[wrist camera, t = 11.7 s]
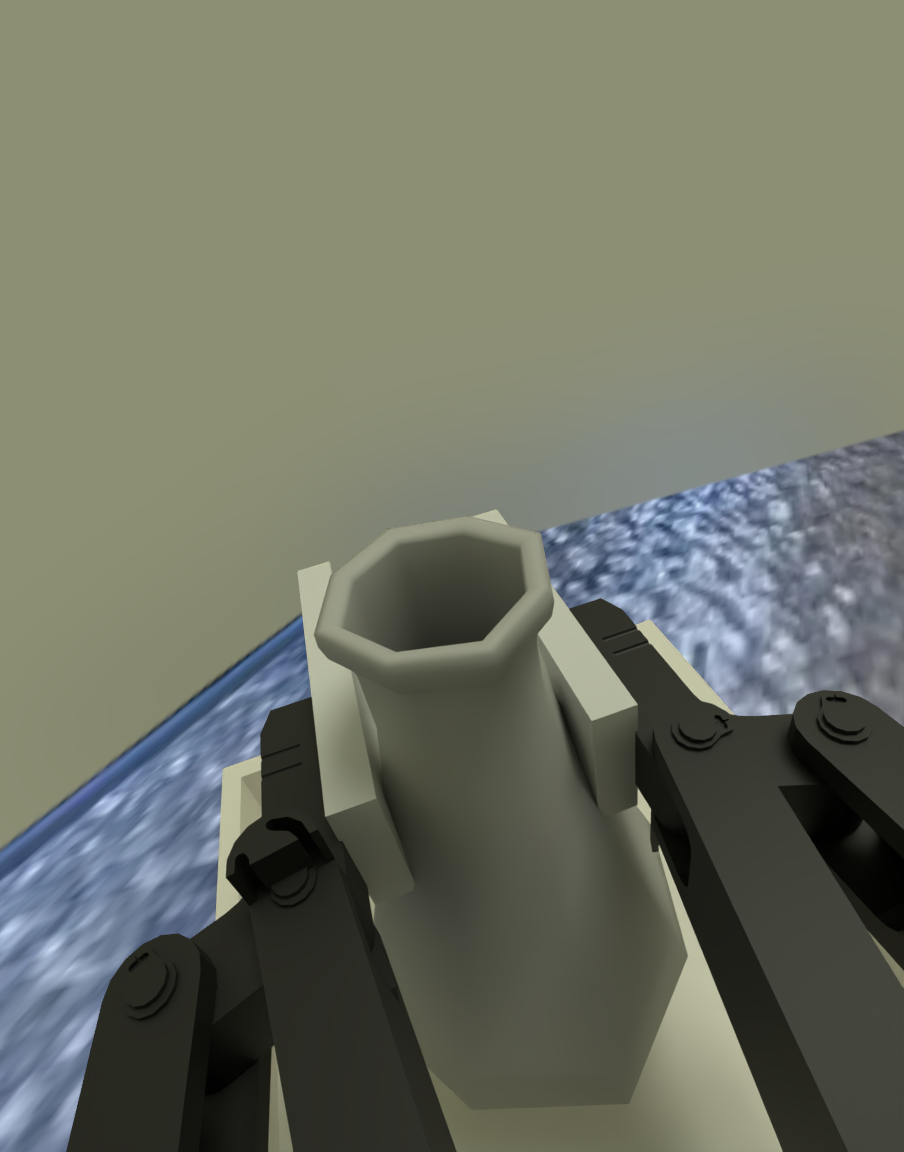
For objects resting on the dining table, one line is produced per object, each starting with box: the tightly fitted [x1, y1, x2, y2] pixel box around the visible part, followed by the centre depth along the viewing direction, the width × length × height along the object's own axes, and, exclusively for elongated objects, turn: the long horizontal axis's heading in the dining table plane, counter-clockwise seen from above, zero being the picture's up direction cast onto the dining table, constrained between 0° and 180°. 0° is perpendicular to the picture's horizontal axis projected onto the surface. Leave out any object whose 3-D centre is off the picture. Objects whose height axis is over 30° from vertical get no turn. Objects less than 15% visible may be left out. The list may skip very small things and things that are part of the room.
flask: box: [314, 516, 688, 1110], centre depth 11 cm, size 7×7×10 cm
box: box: [216, 620, 904, 1152], centre depth 15 cm, size 15×15×3 cm
